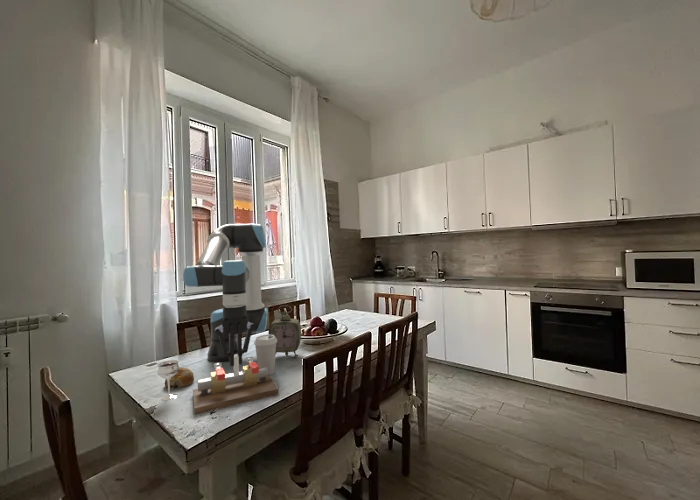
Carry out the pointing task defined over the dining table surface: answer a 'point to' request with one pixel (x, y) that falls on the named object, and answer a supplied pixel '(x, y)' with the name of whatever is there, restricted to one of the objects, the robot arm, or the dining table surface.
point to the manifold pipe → (231, 380)
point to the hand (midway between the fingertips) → (236, 374)
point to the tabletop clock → (286, 333)
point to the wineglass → (168, 375)
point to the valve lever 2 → (252, 365)
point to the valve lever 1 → (219, 371)
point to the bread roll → (181, 379)
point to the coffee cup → (266, 352)
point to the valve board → (233, 395)
